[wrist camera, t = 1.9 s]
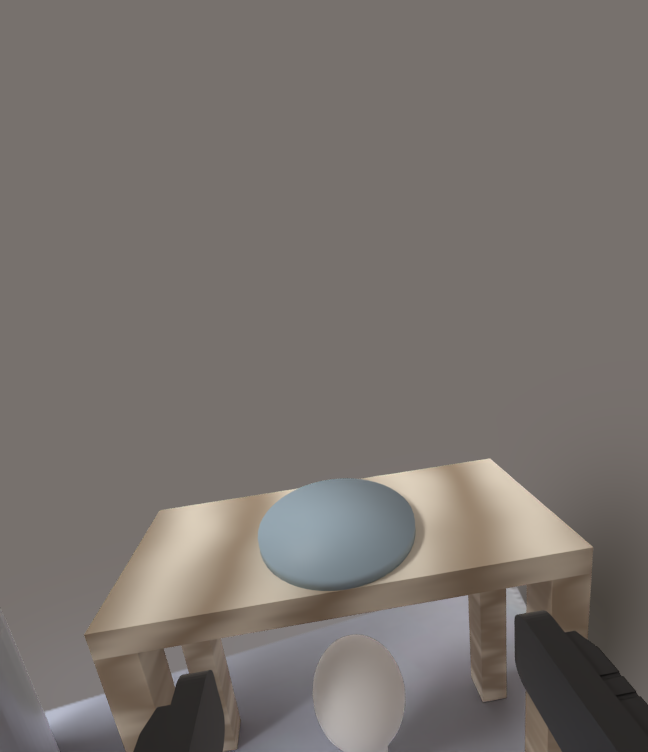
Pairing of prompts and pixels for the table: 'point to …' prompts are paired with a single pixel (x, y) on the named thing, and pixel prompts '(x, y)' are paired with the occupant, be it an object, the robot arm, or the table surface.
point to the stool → (335, 577)
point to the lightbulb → (359, 694)
